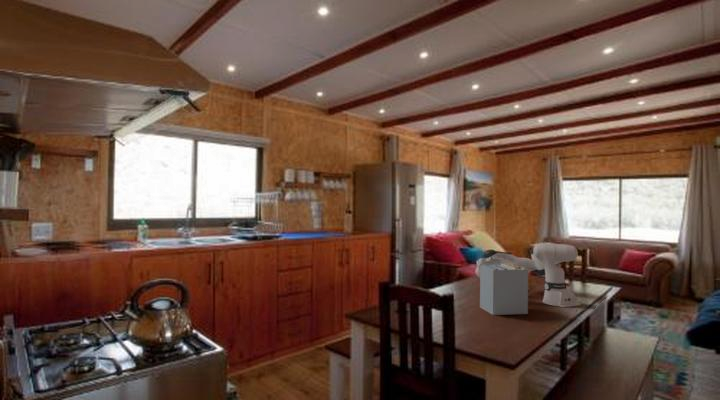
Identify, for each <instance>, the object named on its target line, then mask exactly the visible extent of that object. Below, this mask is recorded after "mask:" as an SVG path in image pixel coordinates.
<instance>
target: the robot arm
mask: <svg viewBox="0 0 720 400" xmlns="http://www.w3.org/2000/svg"><path fill="white" fill-rule="evenodd" d="M529 253H530V257H531V258H528V257H517V256H515V254H513V253H511V252H505V251H504V252H503V251H499V250H495V249H487V250H485V251H484V252H483V254H482V258H478V260H476V268H475V270H474V271H475V274H476V276H477V277H478V278H480V265H483V264H486V265H491V264H494V265H501V264H498V263H497V258H502V259H505V260H509V261H512V262H516V263H519V266H520V267H523V268H526V269H528V272H531V271H533V274H536V275H537V276H538V277H545V280H544V293H543V299H542V301H541V302H542V303H543V304H546V305H549V306H556V307H561V308H568V307H577V306H578V307H579V306H581V303H580V302H579V301H577V297H576V295H575V293H574V292H572V291H571V290H570V289H568V288H570V287H571V283H568V282H567V283H566V282H565V270H564V268H562V267H561V266H559V264H560V263H564V262H574V261H576V260H577V258H578V254H579V252H578V249H577V248H576V246H574V245H571V244H565V243H551V242H550V243H548V242H546V243H545V242H543V243H537V244H535V245H534V246H533V247H532V248H531V249H530V250H529Z"/></svg>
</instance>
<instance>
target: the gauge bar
mask: <svg viewBox="0 0 720 400" xmlns="http://www.w3.org/2000/svg"><path fill="white" fill-rule="evenodd" d="M497 263H498V264H504V265H508V266H511V267H514V268H519V263H516V262H512V261H509V260H505V259H502V258H497Z"/></svg>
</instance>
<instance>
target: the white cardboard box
mask: <svg viewBox="0 0 720 400" xmlns="http://www.w3.org/2000/svg"><path fill="white" fill-rule="evenodd" d="M479 279H480V280H479V287H480V288H479V308H480V309H482V310H484V311H485V312H486V313H489V314H491V315H492V316H501V315H502V316H503V315H504V316H505V315H528V314H529V271H528V269H526V268H523V267H520V266H519V268H514V267H511V266H508V265H504V264H501V265H494V264H491V265H486V264H483V265H480V277H479Z"/></svg>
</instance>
